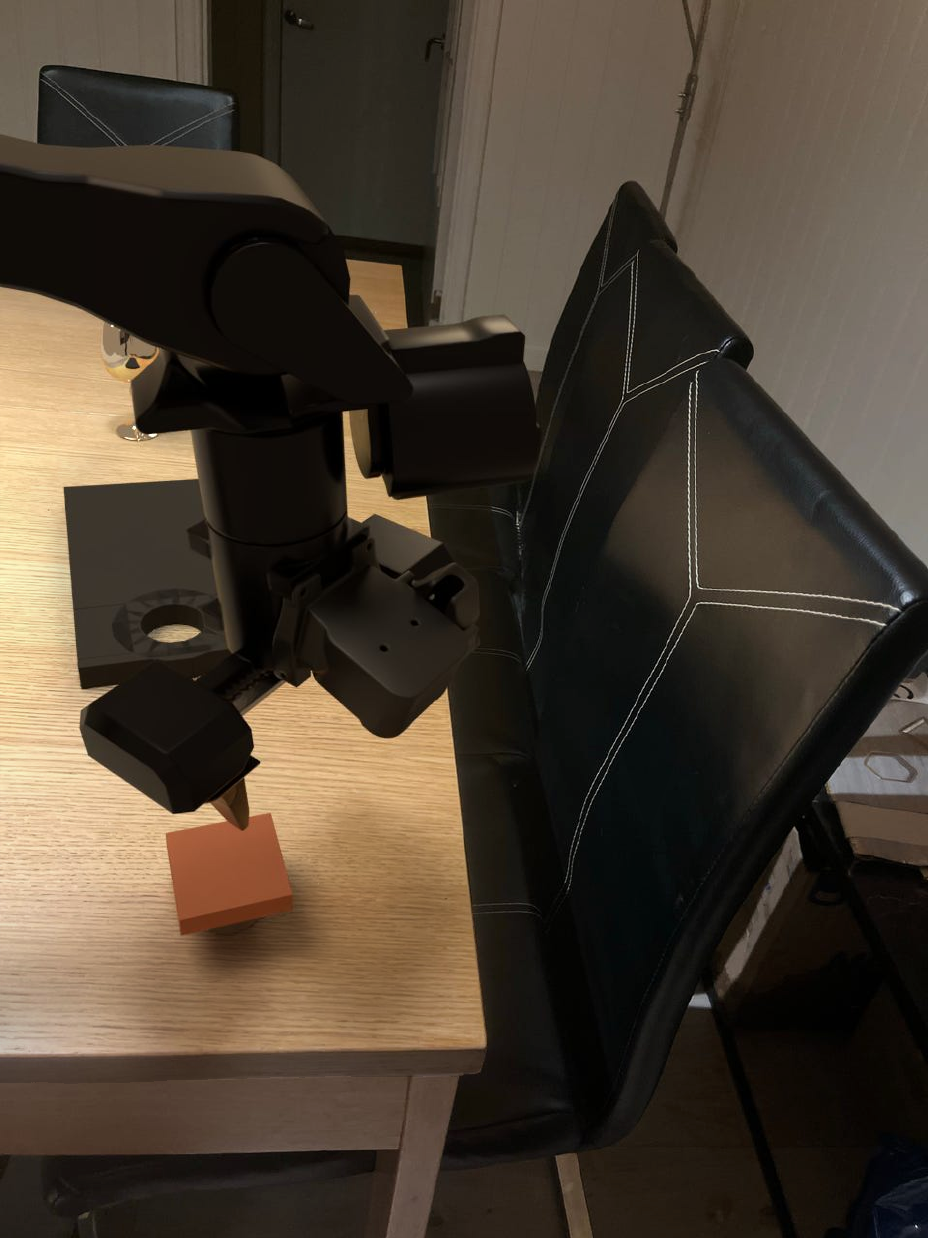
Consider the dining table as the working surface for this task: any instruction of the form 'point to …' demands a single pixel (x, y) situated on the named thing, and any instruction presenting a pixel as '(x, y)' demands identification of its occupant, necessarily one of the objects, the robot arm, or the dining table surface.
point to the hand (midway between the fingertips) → (304, 766)
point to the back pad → (138, 579)
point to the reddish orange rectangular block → (227, 875)
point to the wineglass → (126, 366)
